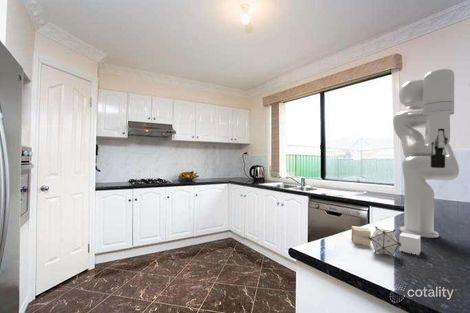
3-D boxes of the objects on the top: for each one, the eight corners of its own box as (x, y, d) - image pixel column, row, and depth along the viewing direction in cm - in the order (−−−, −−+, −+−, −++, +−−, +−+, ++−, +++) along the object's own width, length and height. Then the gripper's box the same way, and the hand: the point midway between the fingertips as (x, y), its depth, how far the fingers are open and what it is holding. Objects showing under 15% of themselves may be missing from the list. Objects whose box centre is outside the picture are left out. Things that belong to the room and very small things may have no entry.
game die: (387, 269, 69) (385, 248, 65) (363, 250, 77) (360, 229, 72) (409, 253, 71) (409, 231, 66) (383, 235, 78) (382, 215, 74)
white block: (401, 247, 79) (401, 232, 79) (420, 251, 75) (420, 235, 76) (399, 251, 75) (399, 235, 75) (419, 255, 72) (419, 239, 72)
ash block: (351, 239, 85) (351, 226, 85) (366, 241, 84) (367, 227, 84) (354, 244, 80) (354, 229, 80) (370, 246, 79) (370, 231, 79)
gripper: (419, 115, 83) (419, 167, 82) (426, 106, 70) (426, 167, 70) (448, 113, 79) (447, 168, 78) (460, 103, 66) (460, 168, 66)
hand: (437, 167), depth 74 cm, fingers closed
